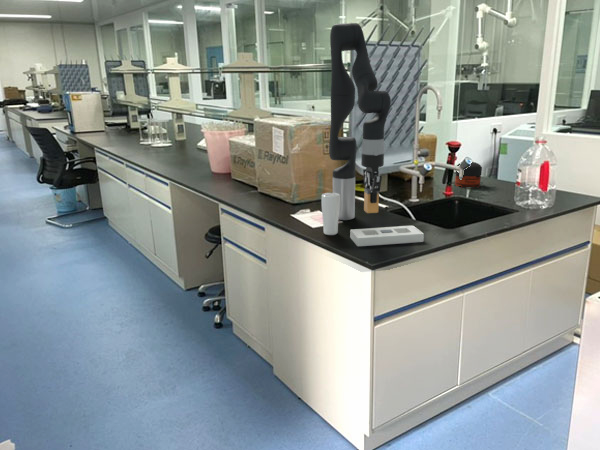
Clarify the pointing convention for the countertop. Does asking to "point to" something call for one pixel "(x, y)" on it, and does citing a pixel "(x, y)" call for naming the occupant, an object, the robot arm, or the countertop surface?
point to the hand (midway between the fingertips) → (371, 200)
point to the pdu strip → (386, 235)
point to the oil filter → (470, 176)
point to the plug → (368, 205)
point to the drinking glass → (330, 212)
